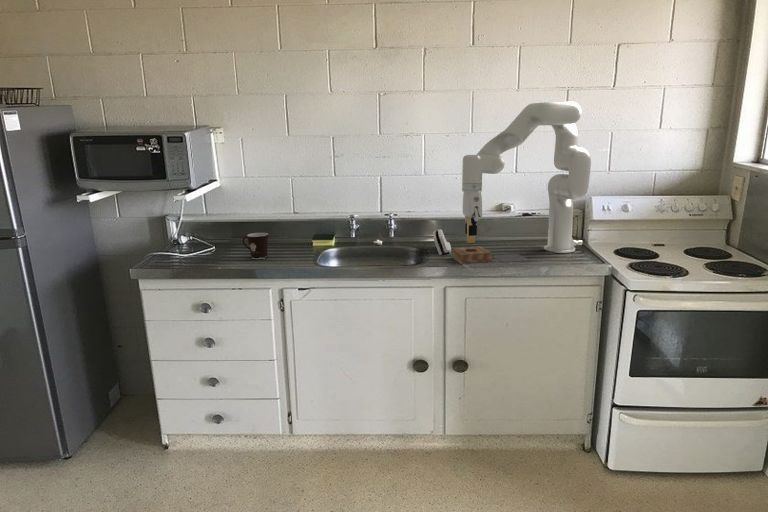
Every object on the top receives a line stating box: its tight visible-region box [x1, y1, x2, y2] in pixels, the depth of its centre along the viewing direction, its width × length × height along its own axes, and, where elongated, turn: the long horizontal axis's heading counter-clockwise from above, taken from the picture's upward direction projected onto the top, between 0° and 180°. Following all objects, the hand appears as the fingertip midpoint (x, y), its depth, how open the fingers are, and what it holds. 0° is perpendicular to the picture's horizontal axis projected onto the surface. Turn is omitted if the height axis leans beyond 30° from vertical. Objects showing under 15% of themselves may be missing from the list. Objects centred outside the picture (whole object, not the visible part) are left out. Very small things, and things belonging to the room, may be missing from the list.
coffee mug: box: [242, 232, 269, 258], centre depth 236 cm, size 12×9×10 cm
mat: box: [492, 253, 529, 263], centre depth 224 cm, size 11×11×1 cm
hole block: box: [451, 246, 493, 266], centre depth 223 cm, size 12×12×4 cm
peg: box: [466, 216, 476, 244], centre depth 221 cm, size 3×3×10 cm
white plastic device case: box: [432, 228, 452, 256], centre depth 242 cm, size 17×5×10 cm, turn 174°
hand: (470, 234), depth 221 cm, fingers closed on peg, 3 cm apart
